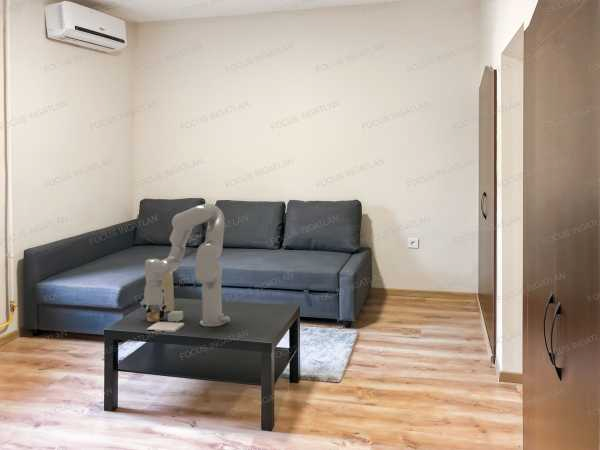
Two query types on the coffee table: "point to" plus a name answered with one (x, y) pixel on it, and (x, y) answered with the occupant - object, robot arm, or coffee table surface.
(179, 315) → the sage block
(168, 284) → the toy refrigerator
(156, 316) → the oak block
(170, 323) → the baseplate
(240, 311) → the coffee table surface
